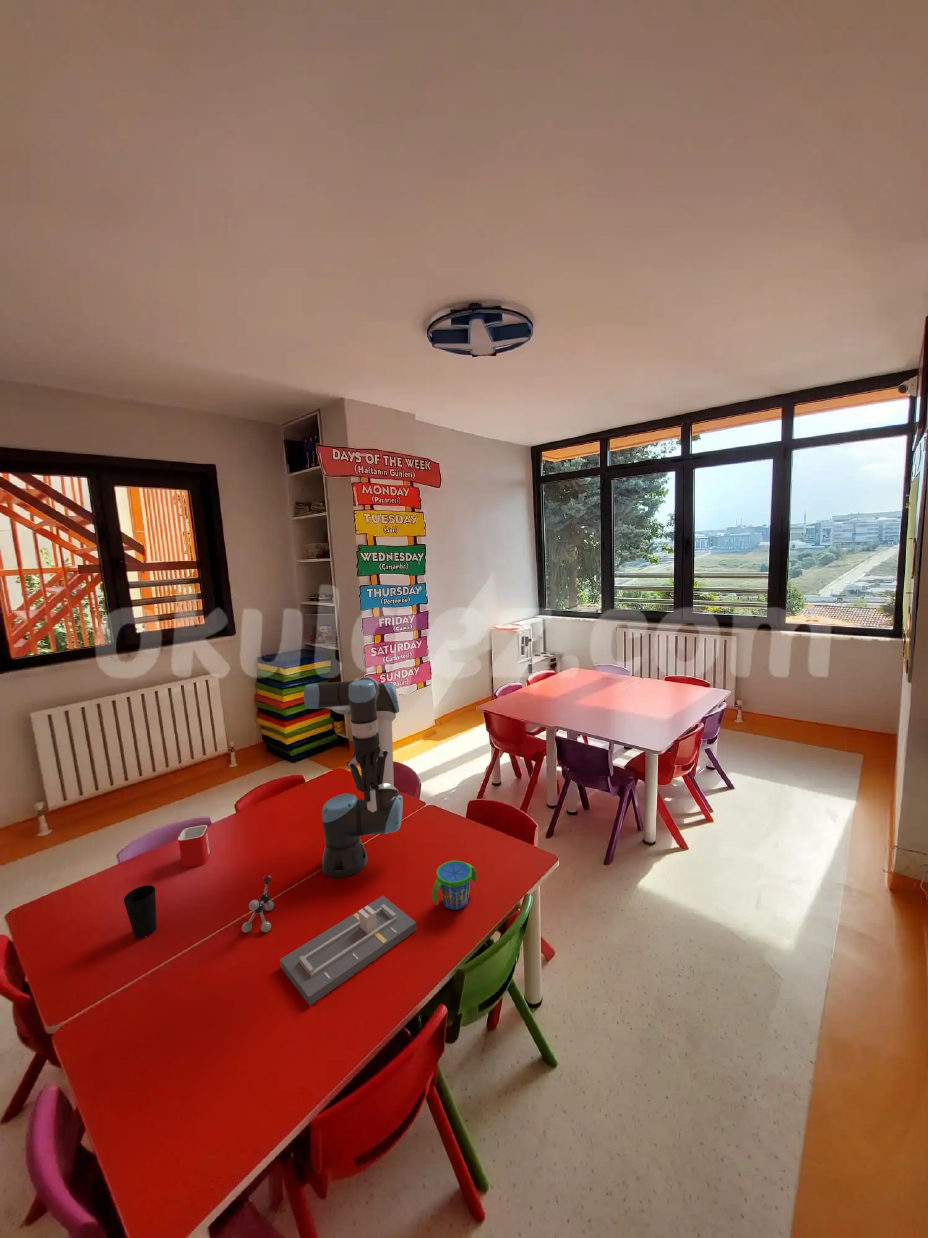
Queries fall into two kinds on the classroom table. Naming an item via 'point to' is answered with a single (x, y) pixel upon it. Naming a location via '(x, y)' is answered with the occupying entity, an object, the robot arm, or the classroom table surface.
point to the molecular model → (260, 908)
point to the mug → (194, 846)
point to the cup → (142, 910)
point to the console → (345, 950)
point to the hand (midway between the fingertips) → (372, 809)
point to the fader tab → (367, 919)
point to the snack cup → (454, 884)
